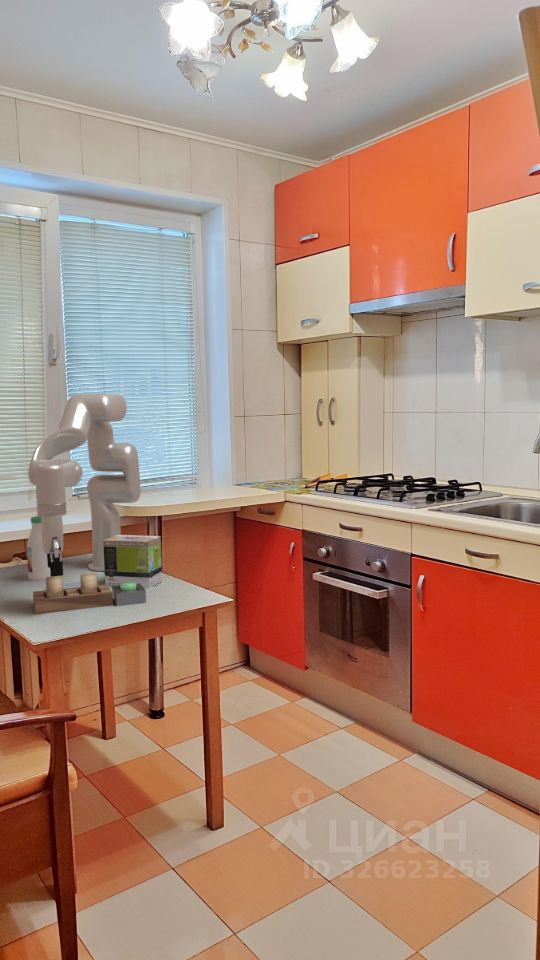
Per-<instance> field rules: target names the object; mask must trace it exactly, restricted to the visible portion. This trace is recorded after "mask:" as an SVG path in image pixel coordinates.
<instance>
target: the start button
mask: <svg viewBox="0 0 540 960" xmlns="http://www.w3.org/2000/svg"><path fill="white" fill-rule="evenodd" d="M120 590H121V591H130V590H137V589H136V582H123V583H121V584H120Z"/></svg>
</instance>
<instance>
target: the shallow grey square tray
mask: <svg viewBox="0 0 540 960" xmlns="http://www.w3.org/2000/svg"><path fill="white" fill-rule="evenodd" d="M74 587H81V581H77V580H76V581H71V582H70V581H69V582H63V589H65V588H74Z"/></svg>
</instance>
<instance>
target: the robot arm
mask: <svg viewBox="0 0 540 960" xmlns="http://www.w3.org/2000/svg"><path fill="white" fill-rule="evenodd" d="M127 407H128V406H127V401H126V399H125V397H124V396H123V395H121V394H118V393H114V394H113V393H109V394H108V393H78V394H74V395H72V396H70V397H69V399H68V400H67V401H66V405H65V407H64V411H63V413H62V417H61V419H60V422H59V425H58V429H57V430H56V431H54V432H52V433H51V434H50V435H49V436H47V437H46V438H44V440H41V442H40V443H39V444H38V445H37V446H36V448H35V449H34V451H33V453H32V455H31V456H32V457H31V460H30V462H29V465H28V473H27V476H28V480H29V482H30V483H31V484H32V485H33V486H35V495H36V497H35V498H36V516H38V517H42V518H41V526H42V547H43V551H44V553H45V554H47V563H48V567H49V568H50V575H51V577H54V576H62V577H63V576H64V565H63V560H62V558H63V557H62V553H63V551H64V528H63V527H64V526H63V522H64V521H63V516H66V515H67V501H66V499H67V497H66V488H71V487H75V486H77V485H78V484H79V483H80V482H81V481H82V478H83V468H82V466H81V464H80V463H79V462H78V461H76V460H72V459H53V458H56V457H57V456H59V455H62V454H64V453H66V452H69V451H72V450H75V449H78V448H80V447H81V446H83V445H84V444H85V443H86V442H87V450H88V451H87V452H88V460H89V465H90V468H91V469H92V470H94V471H95V472H105V473H107V472H108V473H110V472H111V473H113V472H120V473H123V474H97V475H94V476H92V477H90V479H89V480H88V482H87V485H86V491H87V495H88V500H89V507H90V514H91V515H90V517H91V541H92V543H91V544H92V562H91V563H89V564H88V569H89V570H90V571H95V572H104V547H103V540H105V539H108V538H111V537H113V536H116V535H122V534H121V533H122V531H121V530H122V529H121V527H122V526H121V515H120V512H119V510H118V509H117V507H116V506H115V505H114V504H133V503H136V502H137V501H139V500H140V497H141V492H142V489H141V478H140V477H141V476H140V475H141V474H140V464H139V463H140V462H139V454H138V451H137V448H136V447H135V445H133V444H132V443H129V442H115V440H114V439H115V438H114V429H113V426H112V424H111V423H114V422H115V423H116V422H121V421H122V420H123V419H124V418H125V417H126V415H127V409H128V408H127ZM47 552H48V553H47Z"/></svg>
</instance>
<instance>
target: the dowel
mask: <svg viewBox="0 0 540 960" xmlns="http://www.w3.org/2000/svg"><path fill="white" fill-rule="evenodd" d="M63 583H64V579H63V575H62V576H54V577H51V576H50V577H47V578H46V579H45V588H46V589H45V590H46V591H47V598H51V597H60V596H64V592H63Z"/></svg>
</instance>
